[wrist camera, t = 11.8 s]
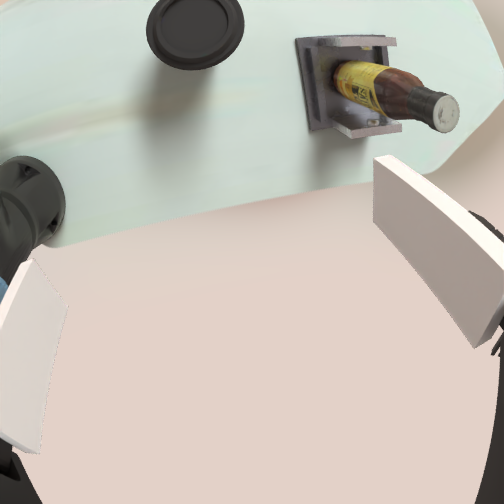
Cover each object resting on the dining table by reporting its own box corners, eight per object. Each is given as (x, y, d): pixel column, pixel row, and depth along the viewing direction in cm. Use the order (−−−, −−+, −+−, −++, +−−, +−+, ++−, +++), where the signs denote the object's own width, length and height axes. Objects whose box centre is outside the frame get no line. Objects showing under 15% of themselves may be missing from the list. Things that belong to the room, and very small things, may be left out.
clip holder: (310, 129, 43) (330, 144, 36) (295, 38, 34) (316, 36, 28) (389, 118, 43) (417, 131, 37) (382, 35, 34) (413, 36, 28)
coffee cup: (244, 35, 33) (270, 24, 21) (194, 79, 36) (194, 91, 24) (196, -8, 28) (198, -39, 16) (146, 39, 31) (120, 30, 19)
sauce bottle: (323, 83, 38) (408, 116, 22) (345, 51, 35) (441, 66, 19) (356, 108, 41) (444, 155, 25) (377, 77, 38) (474, 109, 22)
